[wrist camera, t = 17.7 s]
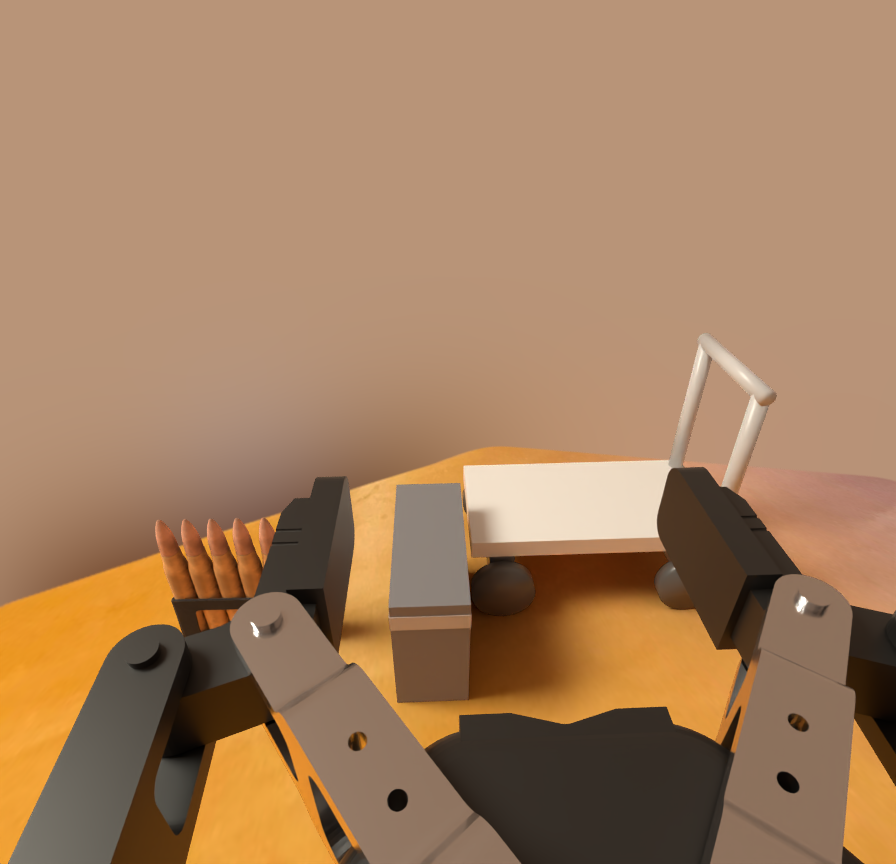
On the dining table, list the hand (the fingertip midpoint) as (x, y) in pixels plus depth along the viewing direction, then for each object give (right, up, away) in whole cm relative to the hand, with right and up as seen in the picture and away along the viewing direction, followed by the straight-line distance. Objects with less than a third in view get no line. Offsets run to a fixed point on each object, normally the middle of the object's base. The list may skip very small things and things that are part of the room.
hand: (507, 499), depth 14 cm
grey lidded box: (-3, -14, +30) cm, 33 cm away
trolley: (+10, -10, +37) cm, 39 cm away
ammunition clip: (-17, -14, +30) cm, 37 cm away
